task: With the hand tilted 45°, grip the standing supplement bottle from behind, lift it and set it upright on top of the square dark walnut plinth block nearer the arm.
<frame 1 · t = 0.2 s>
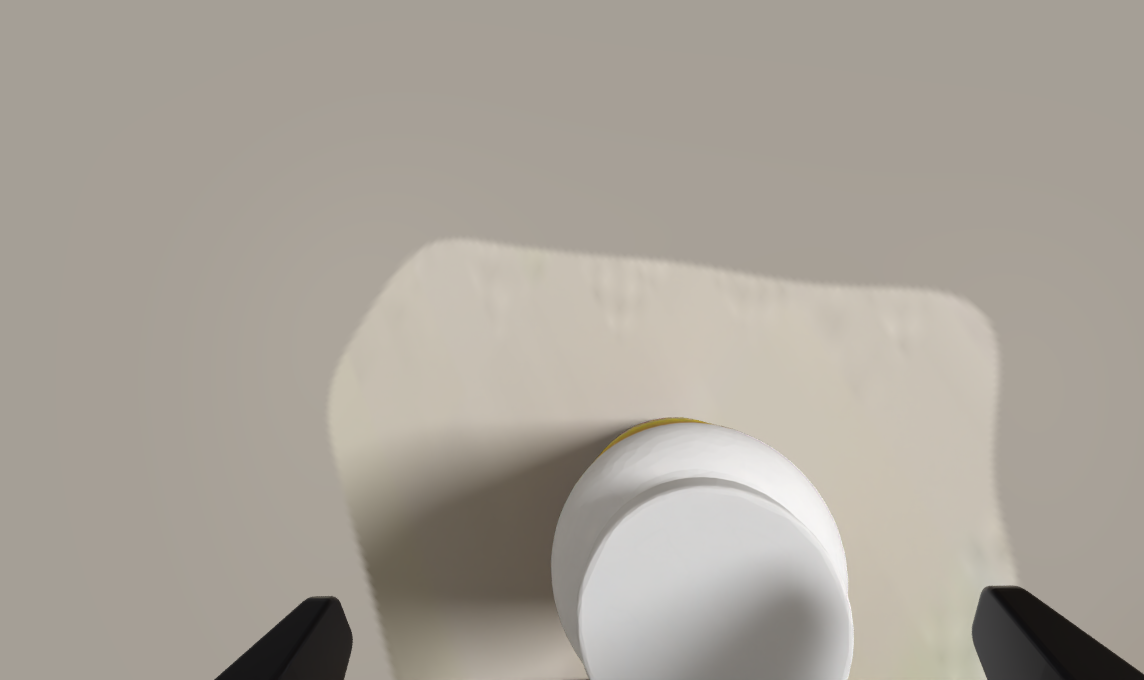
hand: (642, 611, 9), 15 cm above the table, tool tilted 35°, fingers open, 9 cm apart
supplement bottle: (674, 505, 23), on the table
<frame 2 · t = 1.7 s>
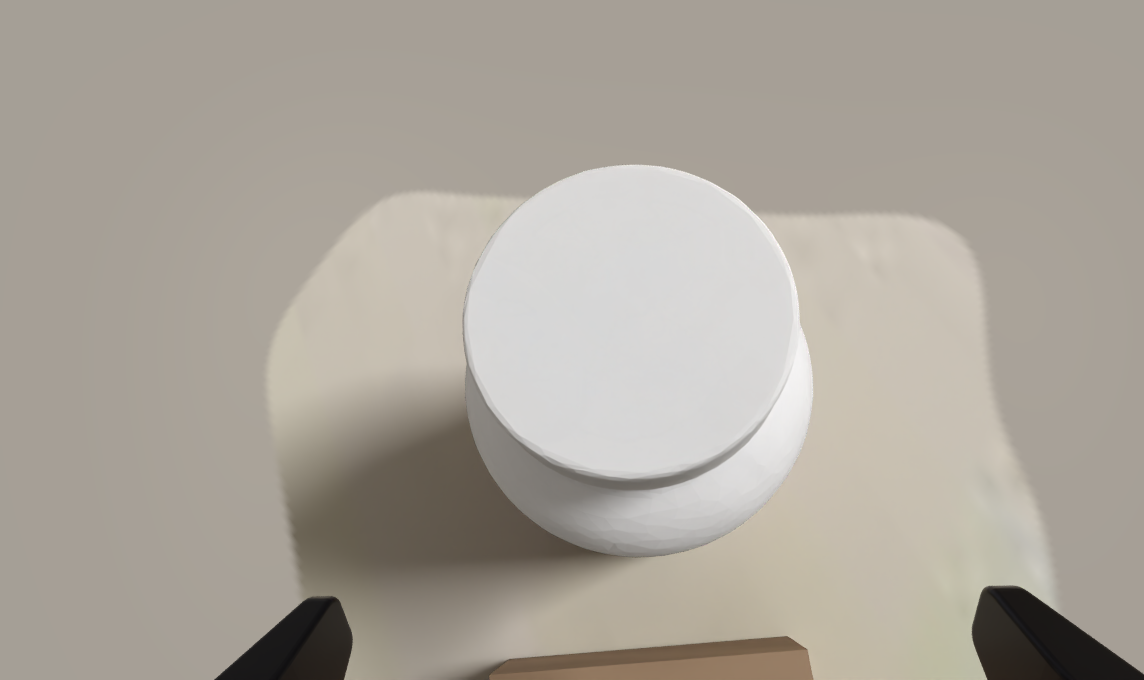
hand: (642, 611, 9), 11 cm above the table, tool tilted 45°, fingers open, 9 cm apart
supplement bottle: (641, 448, 21), on the table
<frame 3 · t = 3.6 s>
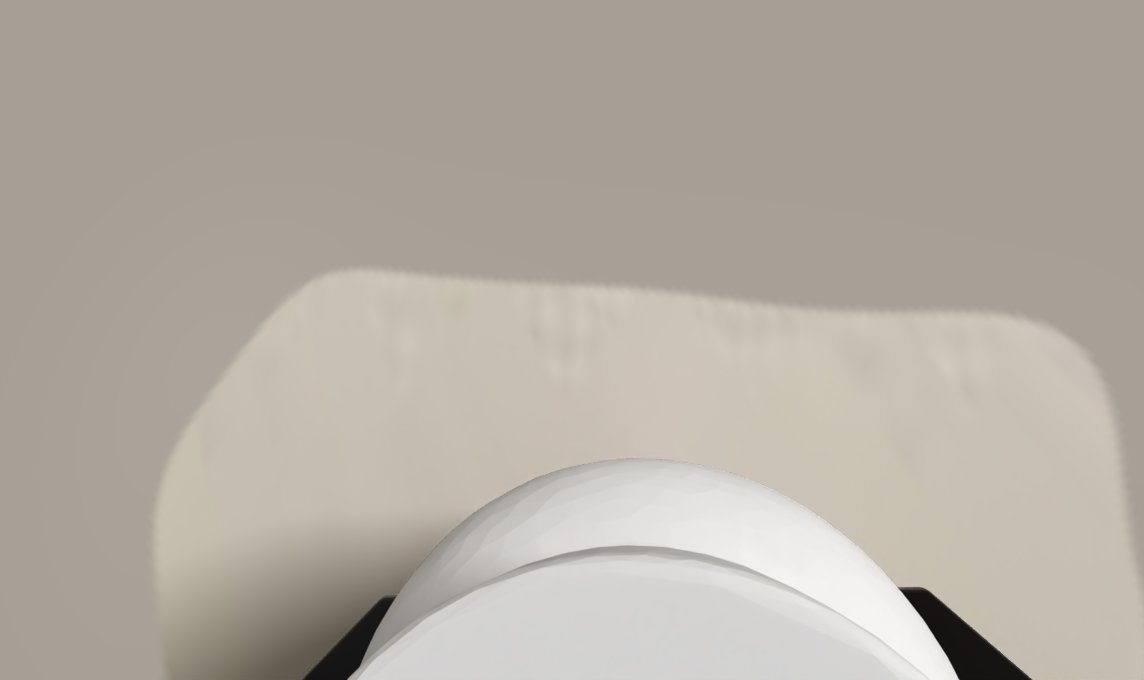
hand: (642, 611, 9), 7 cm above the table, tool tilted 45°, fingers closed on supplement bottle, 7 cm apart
supplement bottle: (649, 642, 15), on the table, touching gripper
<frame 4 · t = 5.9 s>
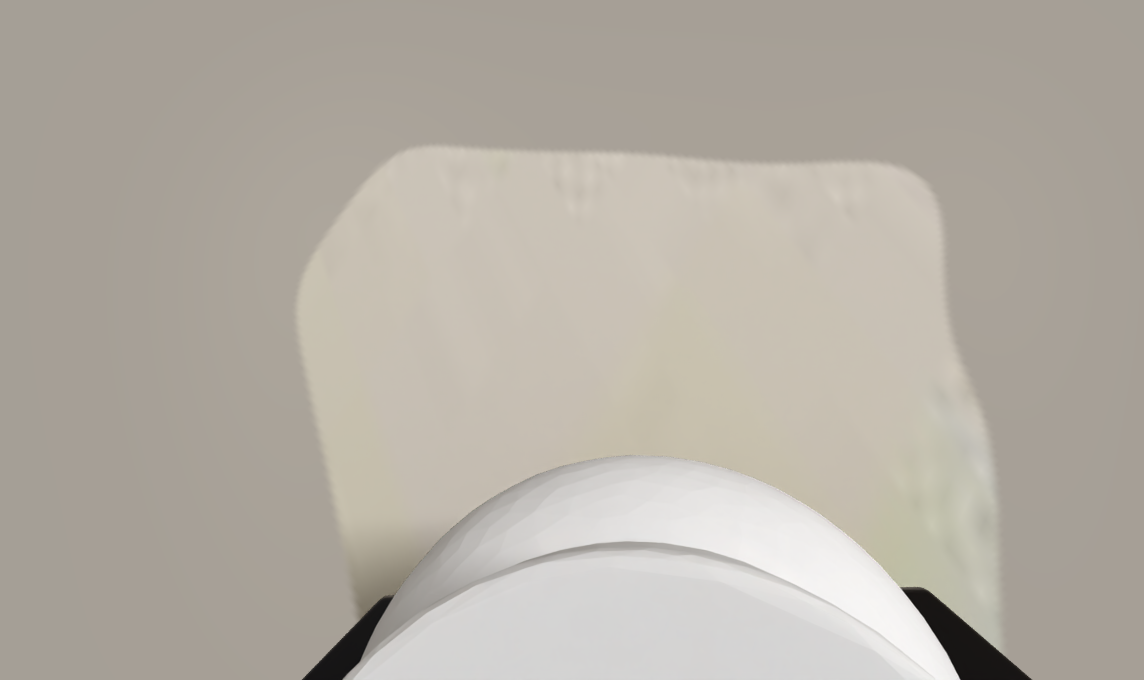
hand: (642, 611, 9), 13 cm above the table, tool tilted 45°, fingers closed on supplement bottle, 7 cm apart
supplement bottle: (649, 640, 15), point 6 cm above the table, touching gripper
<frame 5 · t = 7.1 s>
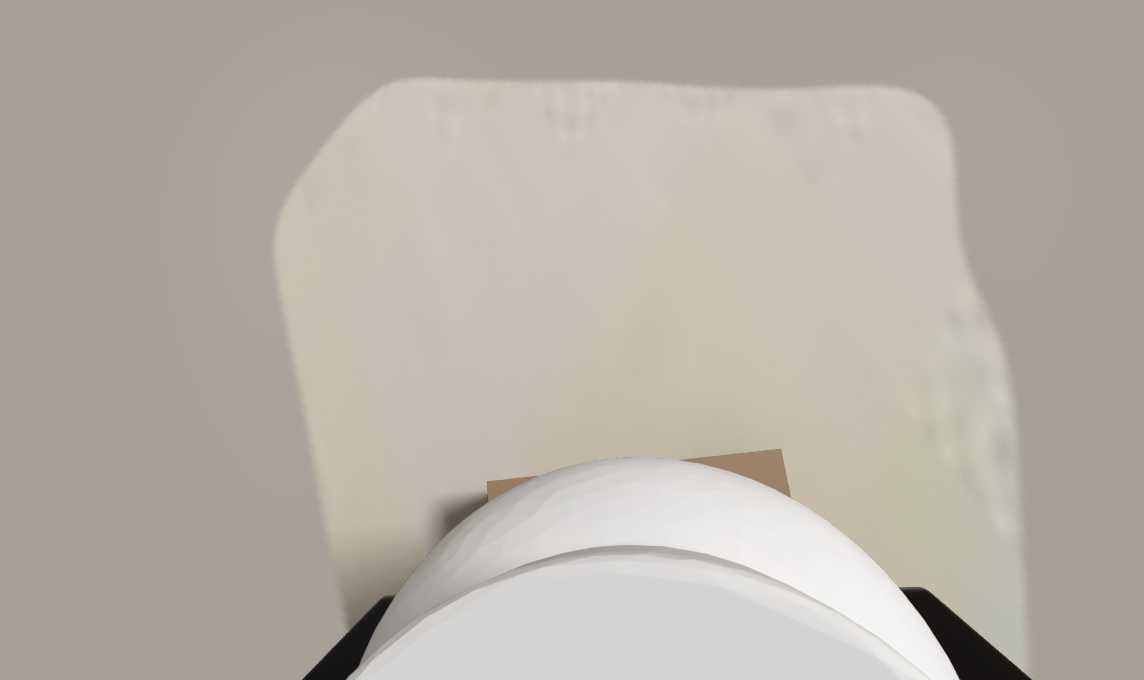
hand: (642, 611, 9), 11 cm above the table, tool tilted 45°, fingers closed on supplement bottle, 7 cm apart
supplement bottle: (649, 641, 15), point 4 cm above the table, touching gripper
walnut plinth: (651, 614, 18), on the table
when the fingers open (11 cm above the table, at t = 7.9 s): supplement bottle drops 1 cm, resting on walnut plinth.
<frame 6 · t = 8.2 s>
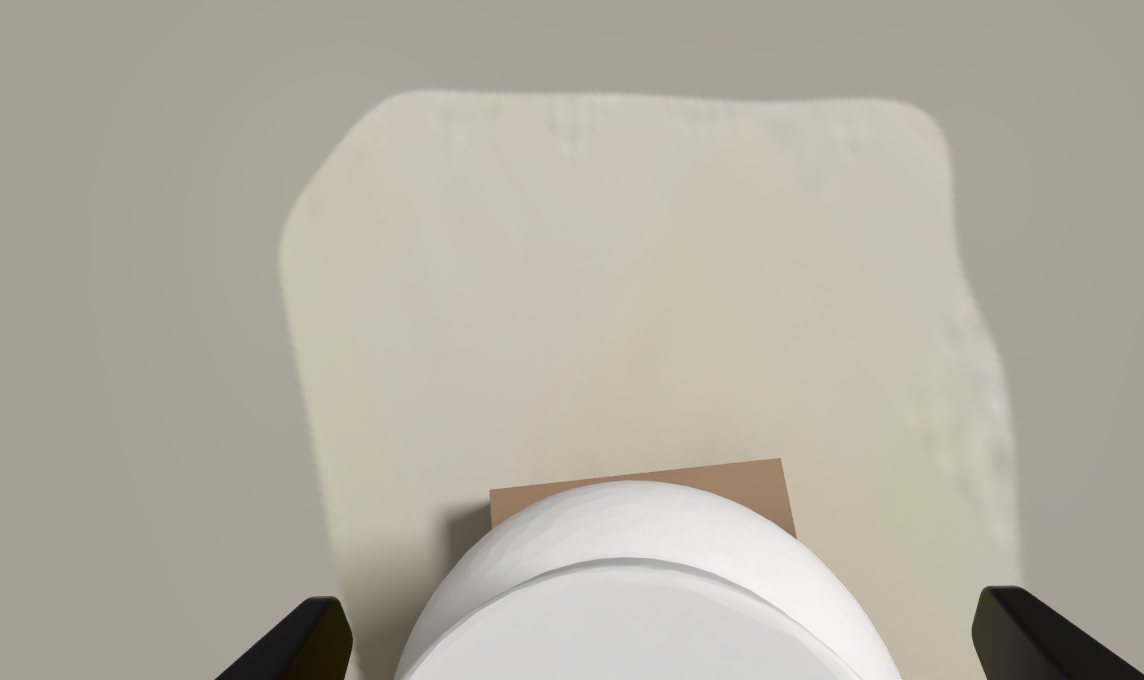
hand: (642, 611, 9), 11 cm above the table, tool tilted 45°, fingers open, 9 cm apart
supplement bottle: (645, 639, 16), point 2 cm above the table, touching walnut plinth
walnut plinth: (652, 622, 19), on the table
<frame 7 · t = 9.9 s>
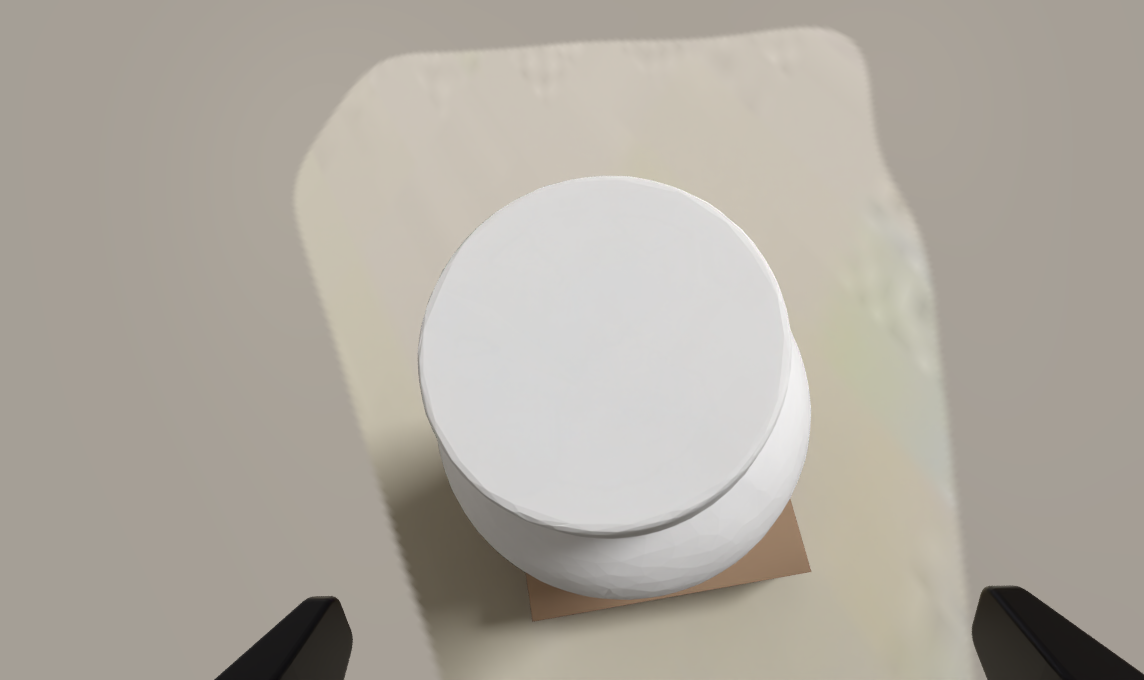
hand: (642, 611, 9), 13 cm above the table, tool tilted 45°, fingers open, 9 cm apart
supplement bottle: (635, 463, 20), point 2 cm above the table, touching walnut plinth
walnut plinth: (642, 466, 22), on the table
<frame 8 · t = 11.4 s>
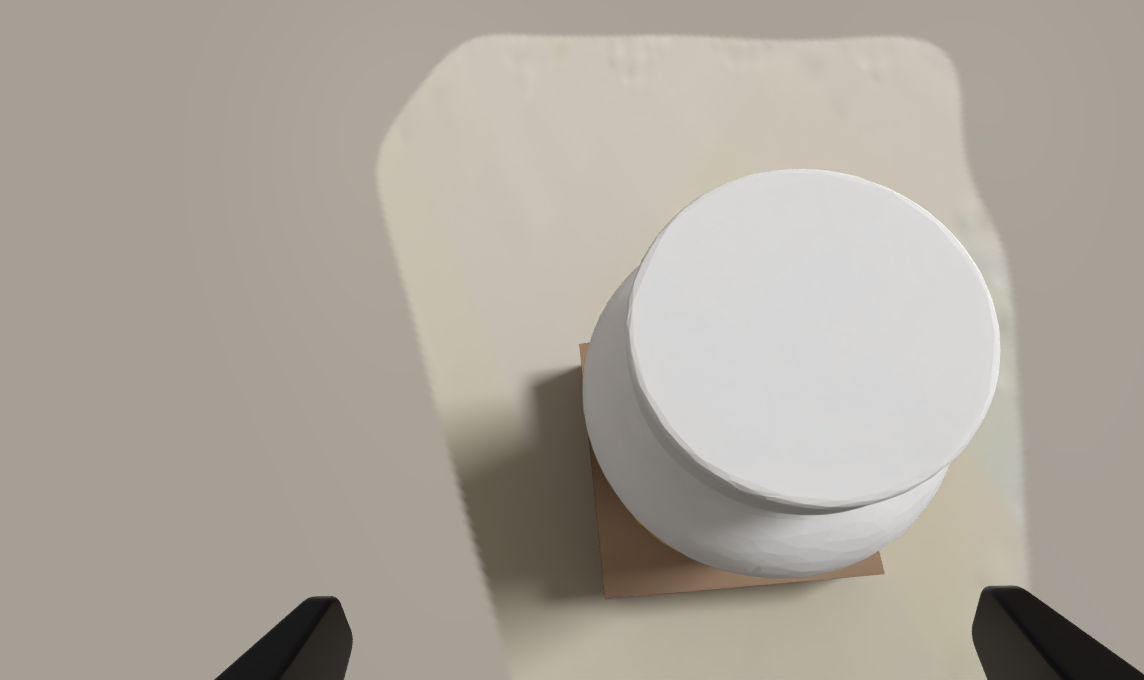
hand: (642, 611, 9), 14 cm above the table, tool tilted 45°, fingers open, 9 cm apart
supplement bottle: (713, 454, 20), point 2 cm above the table, touching walnut plinth
walnut plinth: (711, 458, 22), on the table
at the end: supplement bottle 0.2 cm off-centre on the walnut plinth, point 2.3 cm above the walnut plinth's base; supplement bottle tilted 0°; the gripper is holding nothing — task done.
